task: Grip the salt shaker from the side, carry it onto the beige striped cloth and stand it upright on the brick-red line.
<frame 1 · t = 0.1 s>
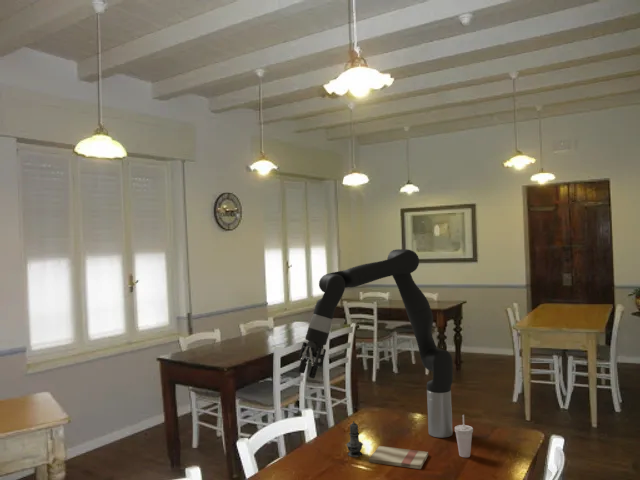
hand: (306, 375, 186), 31 cm above the table, tool tilted 20°, fingers open, 8 cm apart
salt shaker: (355, 454, 195), on the table
smoothie: (464, 455, 190), on the table
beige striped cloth: (399, 458, 189), on the table
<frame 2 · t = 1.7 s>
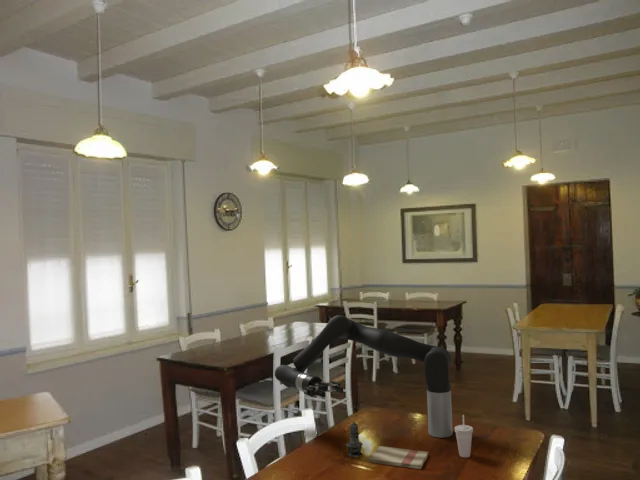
hand: (333, 392, 204), 20 cm above the table, tool horizontal, fingers open, 8 cm apart
nothing on the table moved.
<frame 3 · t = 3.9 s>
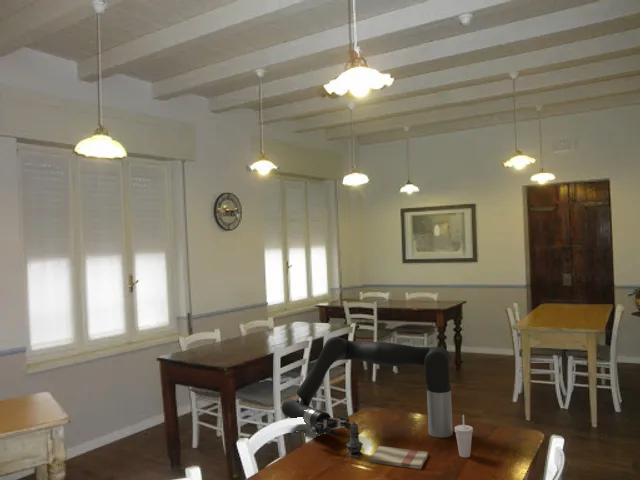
hand: (342, 429, 200), 7 cm above the table, tool horizontal, fingers open, 8 cm apart
nothing on the table moved.
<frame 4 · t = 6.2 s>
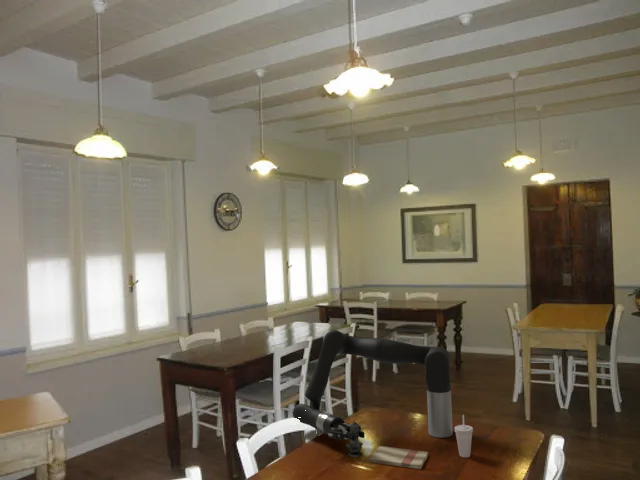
hand: (359, 436, 193), 7 cm above the table, tool horizontal, fingers closed on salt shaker, 3 cm apart
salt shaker: (355, 454, 195), on the table, touching gripper
everything else where it was.
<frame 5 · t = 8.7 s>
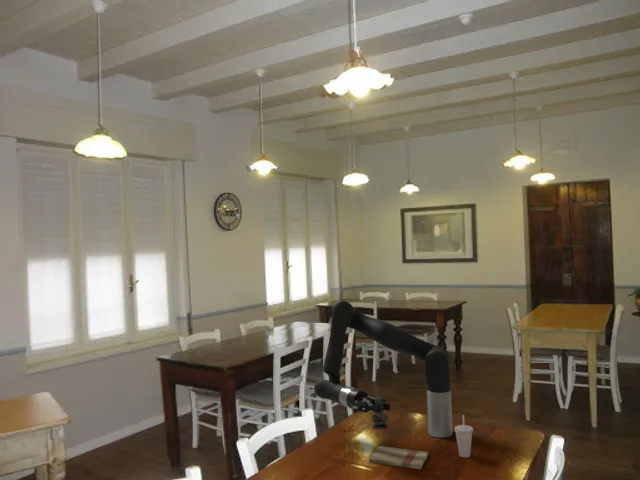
hand: (384, 409, 189), 18 cm above the table, tool horizontal, fingers closed on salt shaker, 3 cm apart
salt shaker: (380, 427, 191), point 10 cm above the table, touching gripper
everything else where it was.
when the fingers open (9 cm above the table, at t = 11.4 s): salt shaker drops 1 cm, resting on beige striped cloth.
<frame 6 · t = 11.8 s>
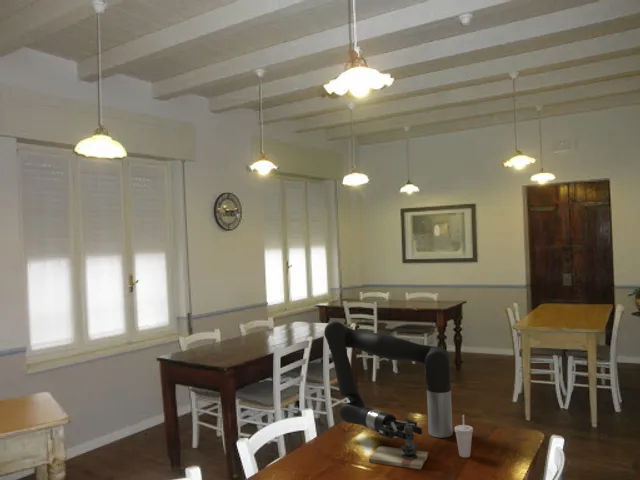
hand: (413, 434, 186), 10 cm above the table, tool horizontal, fingers open, 7 cm apart
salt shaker: (409, 457, 188), point 1 cm above the table, touching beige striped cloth
everything else where it was.
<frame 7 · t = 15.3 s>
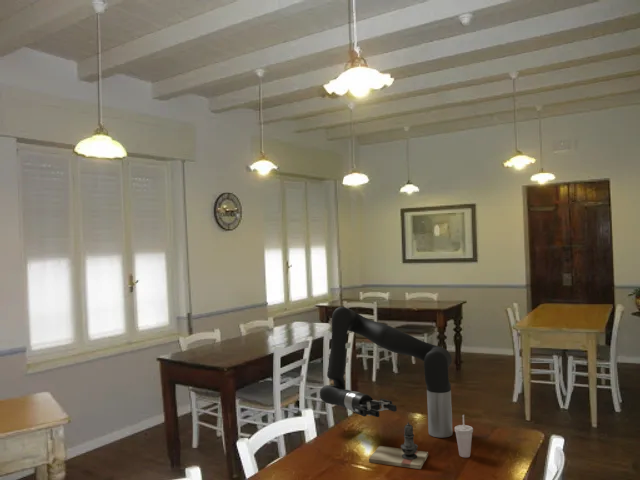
hand: (387, 411, 196), 14 cm above the table, tool horizontal, fingers open, 8 cm apart
nothing on the table moved.
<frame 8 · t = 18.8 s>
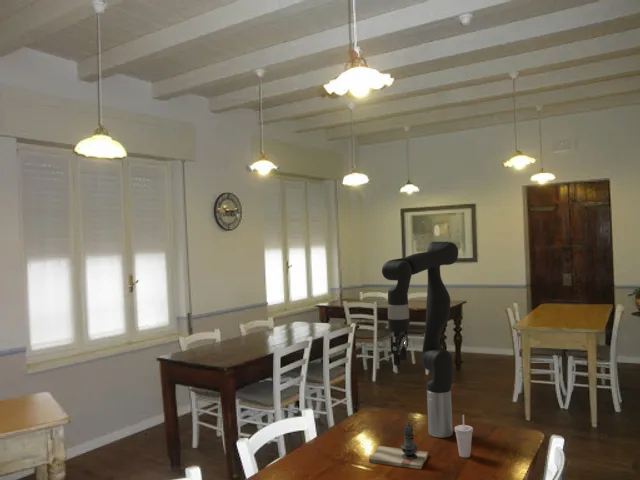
hand: (400, 362, 192), 33 cm above the table, tool pointing down, fingers open, 8 cm apart
nothing on the table moved.
at the end: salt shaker inside the target area (0.1 cm from its centre), point 1.0 cm above the table; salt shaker tilted 0°; the gripper is holding nothing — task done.
